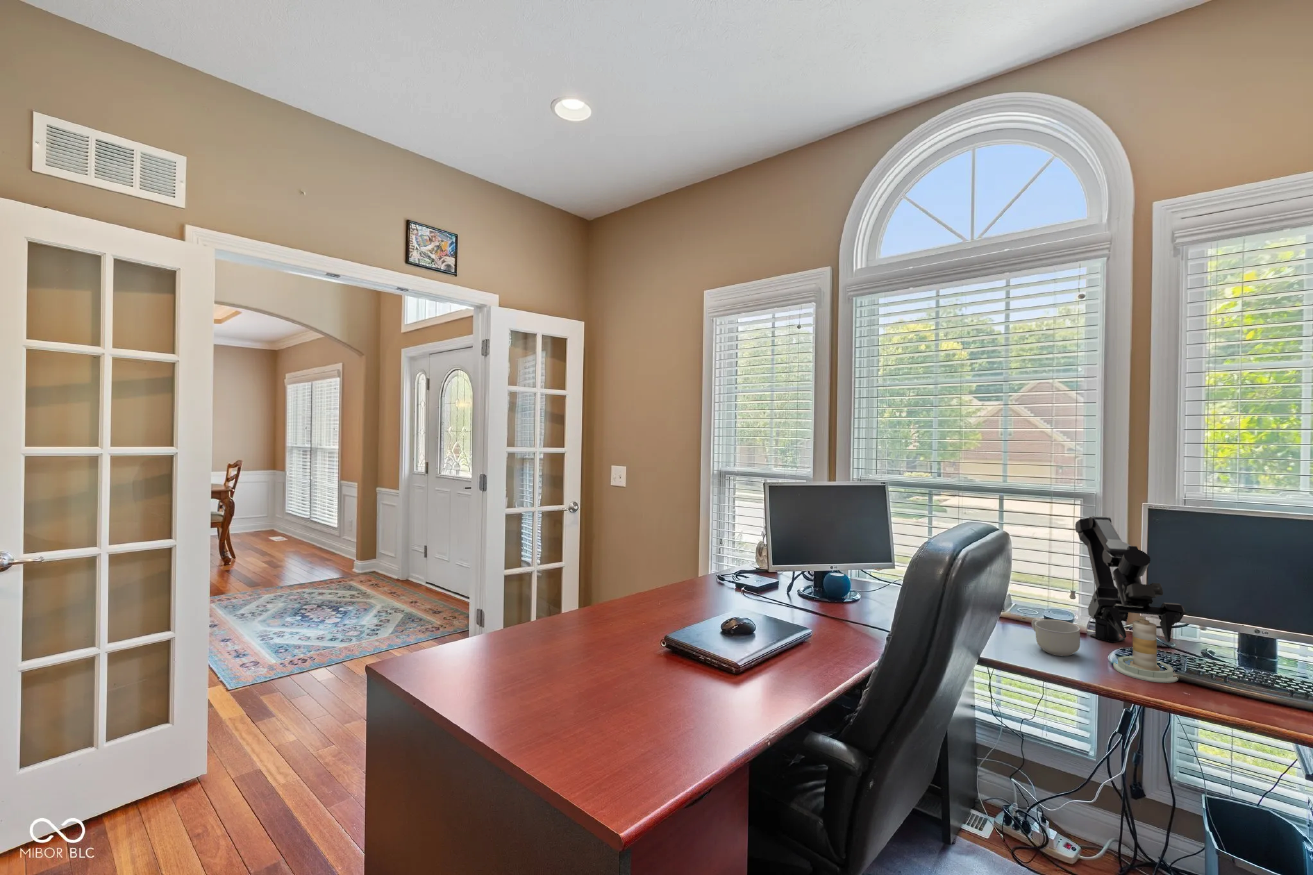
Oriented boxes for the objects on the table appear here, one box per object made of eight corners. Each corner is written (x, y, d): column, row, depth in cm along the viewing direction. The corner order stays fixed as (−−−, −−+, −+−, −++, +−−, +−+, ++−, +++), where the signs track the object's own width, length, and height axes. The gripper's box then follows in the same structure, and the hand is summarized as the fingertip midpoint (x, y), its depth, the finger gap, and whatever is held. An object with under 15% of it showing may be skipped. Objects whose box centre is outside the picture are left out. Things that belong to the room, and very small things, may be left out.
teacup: (1089, 659, 163) (1089, 630, 163) (1050, 659, 163) (1050, 630, 163) (1056, 641, 177) (1056, 615, 177) (1020, 642, 177) (1019, 615, 177)
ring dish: (1132, 660, 162) (1132, 652, 162) (1189, 677, 150) (1189, 669, 150) (1102, 667, 157) (1102, 659, 157) (1159, 686, 145) (1159, 677, 145)
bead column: (1131, 663, 158) (1131, 615, 158) (1161, 669, 153) (1160, 620, 153) (1128, 669, 153) (1127, 620, 154) (1158, 675, 149) (1157, 625, 149)
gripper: (1096, 568, 160) (1110, 620, 150) (1181, 573, 154) (1203, 628, 143) (1087, 589, 168) (1100, 640, 157) (1168, 595, 161) (1188, 649, 151)
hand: (1146, 639), depth 152 cm, fingers open, 9 cm apart
